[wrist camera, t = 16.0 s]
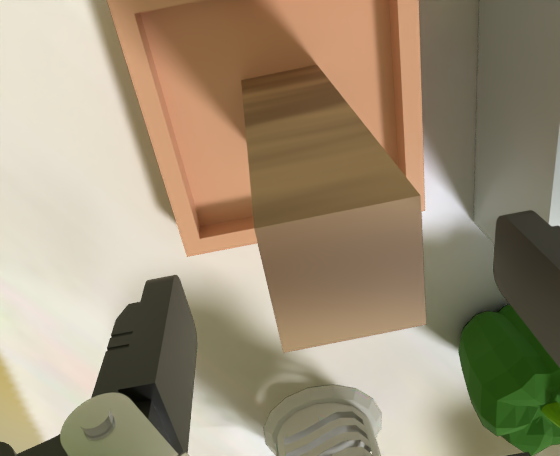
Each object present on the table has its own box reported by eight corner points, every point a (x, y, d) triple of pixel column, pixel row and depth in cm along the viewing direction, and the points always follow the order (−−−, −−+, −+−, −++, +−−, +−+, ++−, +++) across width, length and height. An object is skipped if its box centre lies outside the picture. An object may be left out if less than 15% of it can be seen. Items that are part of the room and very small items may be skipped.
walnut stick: (241, 80, 26) (254, 228, 12) (316, 64, 26) (420, 195, 12) (256, 151, 28) (283, 352, 14) (327, 137, 28) (425, 324, 14)
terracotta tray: (116, -10, 24) (104, -6, 22) (399, -66, 24) (416, -68, 22) (190, 235, 31) (187, 256, 29) (411, 192, 31) (425, 210, 29)
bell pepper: (448, 384, 39) (510, 506, 31) (435, 306, 36) (501, 420, 27) (553, 355, 39) (646, 471, 30) (551, 272, 35) (658, 379, 26)
